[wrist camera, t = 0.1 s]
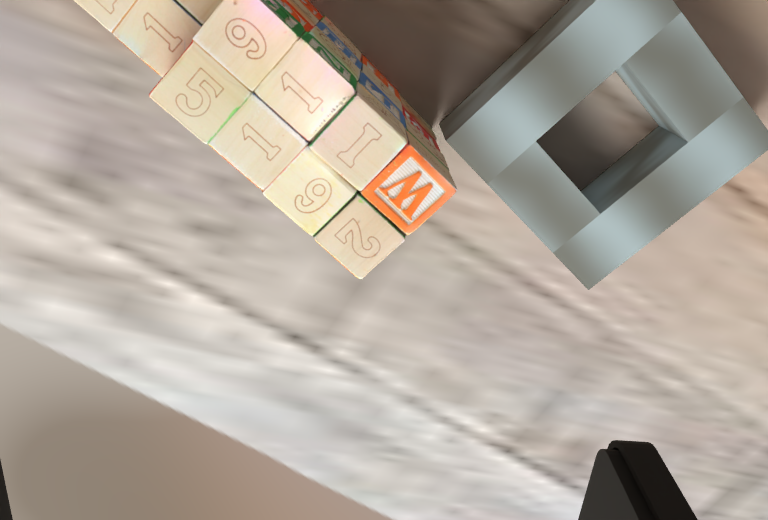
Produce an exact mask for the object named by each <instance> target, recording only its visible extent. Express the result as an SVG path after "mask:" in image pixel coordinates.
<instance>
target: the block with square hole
mask: <svg viewBox="0 0 768 520" xmlns="http://www.w3.org/2000/svg"><path fill="white" fill-rule="evenodd" d="M614 71H616V72H617V74H618V75H619V76H620V77H621V79H622V80H623V81H624V82H625V84H626V85H627V86H628V87H629V89H630V90H631V91H632V92H633V94H634V95H635V96H636V97H637V99H638V100H639V101H640V102H641V104H642V105H643V106H644V107H645V109H646V110H647V111H648V112H649V114H650V115H651V116H652V117H653V119H654V120H655V121H656V122H657V124H658V125H659V126H658V127H657V128H656V129H655V130H654V131H652V132H651V133H650V134H649V135H648V136H646V137H645V138H644V139H643V140H642V141H640V142H639V143H638V144H637V145H636V146H635V147H633V148H632V149H631V150H630V151H629V152H627V153H626V154H625V155H624V156H623V157H621V158H620V159H619V160H618V161H617V162H615V163H614V164H613V165H612V166H611V167H609V168H608V169H607V170H606V171H605V172H603V173H602V174H601V175H600V176H599V177H598V178H596V179H595V180H594V181H593V182H592V183H590V184H589V185H588V186H587V187H586V188H584V189H583V190H582V191H580V190H579V189H578V188H577V187H576V186H575V185H574V184H573V182H572V181H571V180H570V179H569V178H568V177H567V176H566V175H565V174H564V172H563V171H562V170H561V169H560V168H559V167H558V166H557V165H556V163H555V162H554V161H553V160H552V159H551V158H550V157H549V156H548V155H547V153H546V152H545V151H544V150H543V149H542V148H541V147H540V146H539V144H538V143H537V142H536V141H537V140H538V139H539V138H540V137H541V136H542V135H543V134H544V133H546V132H547V131H548V130H549V129H550V128H551V127H552V126H553V125H555V124H556V123H557V122H558V121H559V120H560V119H561V118H562V117H564V116H565V115H566V114H567V113H568V112H569V111H570V110H572V109H573V108H574V107H575V106H576V105H577V104H578V103H579V102H581V101H582V100H583V99H584V98H585V97H586V96H587V95H588V94H590V93H591V92H592V91H593V90H594V89H595V88H596V87H597V86H599V85H600V84H601V83H602V82H603V81H604V80H605V79H606V78H608V77H609V76H610V75H611V74H612V73H613V72H614ZM439 125H440V128H441V130H442V132H443V135H444V137H445V140H446V141H447V142H448V143H449V144H450V146H451V147H452V148H453V149H454V150H455V151H456V152H457V153H458V154H459V155H460V156H461V157H462V158H463V159H464V160H465V161H466V162H467V163H468V164H469V165H470V166H471V168H472V169H473V170H474V171H475V172H476V173H477V174H478V175H479V176H480V177H481V178H482V179H483V180H484V181H485V182H486V183H487V184H488V185H489V186H490V187H491V188H492V190H493V191H494V192H495V193H496V194H497V195H498V196H499V197H500V198H501V199H502V200H503V201H504V202H505V203H506V204H507V205H508V206H509V207H510V208H511V209H512V210H513V212H514V213H515V214H516V215H517V216H518V217H519V218H520V219H521V220H522V221H523V222H524V223H525V224H526V225H527V226H528V227H529V228H530V229H531V230H532V231H533V232H534V234H535V235H536V236H537V237H538V238H539V239H540V240H541V241H542V242H543V243H544V244H545V245H546V246H547V247H548V248H549V249H550V250H551V251H552V252H553V253H554V254H555V255H556V257H557V258H558V259H559V260H560V261H561V262H562V263H563V264H564V265H565V266H566V267H567V268H568V269H569V270H570V271H571V272H572V273H573V274H574V275H575V276H576V277H577V279H578V280H579V281H580V282H581V283H582V284H583V285H584V286H585V287H586V288H587V289H588V290H589V289H590V288H592V287H593V286H594V285H595V284H597V283H598V282H599V281H601V280H602V279H603V278H604V277H606V276H607V275H608V274H610V273H611V272H612V271H613V270H615V269H616V268H617V267H619V266H620V265H621V264H622V263H624V262H625V261H626V260H628V259H629V258H630V257H631V256H633V255H634V254H635V253H636V252H638V251H639V250H640V249H642V248H643V247H644V246H645V245H647V244H648V243H649V242H651V241H652V240H653V239H654V238H656V237H657V236H658V235H660V234H661V233H662V232H663V231H665V230H666V229H667V228H669V227H670V226H671V225H672V224H674V223H675V222H676V221H677V220H679V219H680V218H681V217H683V216H684V215H685V214H686V213H688V212H689V211H690V210H692V209H693V208H694V207H695V206H697V205H698V204H699V203H701V202H702V201H703V200H704V199H706V198H707V197H708V196H709V195H711V194H712V193H713V192H715V191H716V190H717V189H718V188H720V187H721V186H722V185H724V184H725V183H726V182H727V181H729V180H730V179H731V178H733V177H734V176H735V175H736V174H738V173H739V172H740V171H742V170H743V169H744V168H745V167H747V166H748V165H749V164H750V163H752V162H753V161H754V160H756V159H757V158H758V157H759V156H761V155H762V154H763V153H765V152H766V151H767V150H768V130H767V129H766V127H765V126H764V124H763V123H762V122H761V120H760V119H759V118H758V116H757V115H756V113H755V112H754V111H753V109H752V108H751V107H750V105H749V104H748V102H747V101H746V100H745V98H744V97H743V96H742V94H741V93H740V92H739V90H738V89H737V87H736V86H735V85H734V83H733V82H732V81H731V79H730V78H729V76H728V75H727V74H726V72H725V71H724V70H723V68H722V67H721V65H720V64H719V63H718V61H717V60H716V59H715V57H714V56H713V55H712V53H711V52H710V50H709V49H708V48H707V46H706V45H705V44H704V42H703V41H702V39H701V38H700V37H699V35H698V34H697V33H696V31H695V30H694V29H693V27H692V26H691V24H690V23H689V22H688V20H687V19H686V18H685V16H684V15H683V13H682V12H681V11H680V9H679V8H678V7H677V5H676V4H675V2H674V1H673V0H570V1H569V2H568V3H567V4H565V5H564V6H563V7H562V8H561V9H560V10H559V11H558V12H557V13H556V14H555V15H554V16H553V17H552V18H551V19H550V20H549V21H548V22H546V23H545V24H544V25H543V26H542V27H541V28H540V29H539V30H538V31H537V32H536V33H535V34H534V35H533V36H532V37H531V38H530V39H529V40H528V41H526V42H525V43H524V44H523V45H522V46H521V47H520V48H519V49H518V50H517V51H516V52H515V53H514V54H513V55H512V56H511V57H510V58H509V59H507V60H506V61H505V62H504V63H503V64H502V65H501V66H500V67H499V68H498V69H497V70H496V71H495V72H494V73H493V74H492V75H491V76H490V77H488V78H487V79H486V80H485V81H484V82H483V83H482V84H481V85H480V86H479V87H478V88H477V89H476V90H475V91H474V92H473V93H472V94H471V95H469V96H468V97H467V98H466V99H465V100H464V101H463V102H462V103H461V104H460V105H459V106H458V107H457V108H456V109H455V110H454V111H453V112H452V113H450V114H449V115H448V116H447V117H446V118H445V119H444V120H443V121H442V122H441V123H440V124H439Z"/></svg>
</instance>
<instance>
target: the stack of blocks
mask: <svg viewBox="0 0 768 520" xmlns="http://www.w3.org/2000/svg"><path fill="white" fill-rule="evenodd" d="M74 1H75V2H76V3H77V4H78V5H80V6H81V7H82V8H83V9H84V10H85V11H87V12H88V13H89V14H90V15H91V16H92V17H94V18H95V19H96V20H97V21H98V22H99V23H100V24H101V25H103V26H104V27H105V28H106V29H107V30H108V31H110V32H112V33H113V34H114V36H115V37H116V38H117V39H118V40H119V41H120V42H121V43H123V44H124V45H125V46H126V47H127V48H128V49H129V50H130V51H132V52H133V53H134V54H135V55H136V56H138V57H139V58H140V59H141V60H142V61H144V62H145V63H146V64H147V65H148V66H149V67H151V68H152V69H153V70H154V71H155V72H156V73H158V74H159V75H160V76H162V77H163V78H162V79H161V80H160V81H159V82H158V84H157V85H156V86H155V87H154V88H153V90H152V91H151V92H150V94H149V97H150V98H151V99H153V100H154V101H155V102H156V103H157V104H158V105H160V106H161V107H162V108H163V109H164V110H165V111H167V112H168V113H169V114H170V115H171V116H173V117H174V118H175V119H176V120H178V121H179V122H180V123H181V124H182V125H183V126H184V127H186V128H187V129H188V130H189V131H190V132H191V133H193V134H194V135H195V136H196V137H197V138H198V139H200V140H201V141H202V142H203V143H205V144H208V145H210V146H211V147H212V148H213V149H214V150H215V151H216V152H217V153H218V154H219V155H220V156H222V157H223V158H224V159H225V160H226V161H228V162H229V163H230V164H231V165H232V166H233V167H235V168H236V169H237V170H238V171H240V172H241V173H242V174H243V175H244V176H245V177H246V178H247V179H249V180H250V181H251V182H252V183H253V184H255V185H256V186H257V187H258V188H260V189H261V190H262V193H263V194H264V196H265V197H267V198H268V199H269V200H270V201H271V202H272V203H273V204H275V205H276V206H277V207H278V208H279V209H280V210H281V211H283V212H284V213H285V214H286V215H287V216H288V217H290V218H291V219H292V220H293V221H294V222H295V223H297V224H298V225H299V226H300V227H301V228H302V229H303V230H305V231H306V232H307V233H308V234H310V235H311V236H313V237H314V239H315V241H316V242H317V243H318V244H319V245H320V246H322V247H323V248H324V249H325V250H326V251H327V252H328V253H329V254H330V255H332V256H333V257H334V258H335V259H336V260H337V261H338V262H339V263H341V264H342V265H343V266H344V267H345V268H346V269H347V270H349V271H350V272H351V273H352V274H353V275H354V276H355V277H357V278H359V279H362V278H364V277H365V276H366V275H367V274H368V273H369V272H370V271H371V270H372V269H373V268H374V267H376V266H377V265H378V264H379V263H380V262H381V261H382V260H383V259H384V258H386V257H387V256H388V255H389V254H390V253H391V252H392V251H393V250H395V249H396V248H397V247H398V246H399V245H400V244H401V243H403V242H404V240H405V235H410V234H411V233H413V232H414V231H415V230H416V229H417V228H418V227H419V226H421V225H422V224H423V223H424V222H425V221H426V220H427V219H428V218H429V217H430V216H431V215H432V214H434V213H435V212H436V211H437V210H438V209H439V208H440V207H441V206H442V205H443V204H444V203H445V202H446V201H447V200H449V199H450V198H451V197H452V196H453V195H454V194H455V192H456V191H457V188H456V186H455V183H454V181H453V179H452V177H451V175H450V173H449V168H448V166H447V163H446V161H445V158H444V156H443V154H442V153H441V152H440V149H439V147H438V145H437V143H436V137H435V134H434V132H433V131H432V128H431V127H430V126H429V125H428V124H427V123H426V122H425V121H424V120H423V119H422V118H421V117H420V116H419V114H418V113H417V112H416V111H415V110H414V109H413V108H412V107H411V106H410V105H409V104H408V103H407V102H406V101H405V100H404V99H403V98H402V97H401V96H400V95H399V93H398V91H397V89H396V88H395V87H394V86H393V85H392V84H391V83H390V82H389V81H388V80H387V79H386V78H385V77H384V76H383V75H382V74H381V73H380V72H379V71H378V70H377V69H376V68H375V67H374V66H373V65H372V64H371V63H370V62H369V61H368V59H367V58H366V57H365V56H363V55H362V54H361V52H360V51H359V50H358V49H357V48H356V47H355V46H354V45H353V44H352V42H351V41H350V40H349V39H348V38H347V37H346V36H345V35H344V34H343V33H342V32H341V31H340V30H339V29H338V28H337V27H336V26H335V25H334V24H333V23H332V22H331V21H330V20H329V19H328V18H327V17H326V16H322V15H321V14H320V13H319V12H318V11H317V9H316V8H315V7H314V6H313V5H312V4H311V3H310V2H309V1H308V0H74Z"/></svg>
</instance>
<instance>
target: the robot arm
mask: <svg viewBox="0 0 768 520" xmlns="http://www.w3.org/2000/svg"><path fill="white" fill-rule="evenodd" d="M0 520H13V519H12V515H11V509H10V505H9V500H8V495H7V490H6V486H5V480H4V476H3V470H2V466H1V461H0ZM578 520H697V518H696V516H695V514H694V513H693V511H692V509H691V508H690V506H689V504H688V503H687V501H686V499H685V497H684V496H683V494H682V492H681V491H680V489H679V487H678V485H677V484H676V482H675V480H674V479H673V477H672V475H671V474H670V472H669V470H668V468H667V467H666V465H665V463H664V462H663V460H662V458H661V456H660V455H659V453H658V451H657V450H656V448H655V447H654V446H653V444H651V443H649V442H636V441H619V440H615V441H612V442H611V443H610V444H609V446H608V448H607V449H600V450H599V451H598V453H597V456H596V459H595V462H594V466H593V469H592V473H591V477H590V480H589V484H588V487H587V491H586V494H585V498H584V501H583V505H582V508H581V512H580V515H579V519H578Z"/></svg>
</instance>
